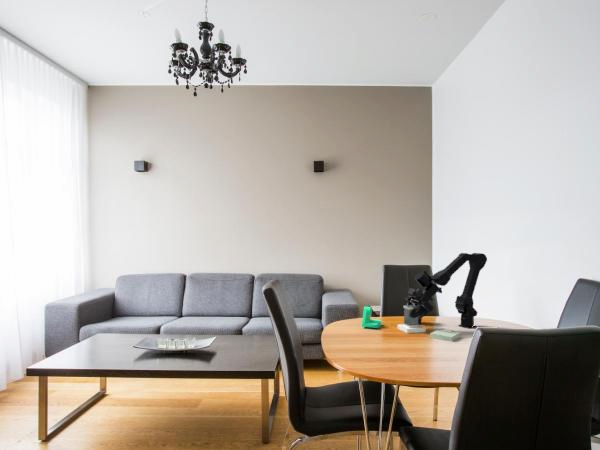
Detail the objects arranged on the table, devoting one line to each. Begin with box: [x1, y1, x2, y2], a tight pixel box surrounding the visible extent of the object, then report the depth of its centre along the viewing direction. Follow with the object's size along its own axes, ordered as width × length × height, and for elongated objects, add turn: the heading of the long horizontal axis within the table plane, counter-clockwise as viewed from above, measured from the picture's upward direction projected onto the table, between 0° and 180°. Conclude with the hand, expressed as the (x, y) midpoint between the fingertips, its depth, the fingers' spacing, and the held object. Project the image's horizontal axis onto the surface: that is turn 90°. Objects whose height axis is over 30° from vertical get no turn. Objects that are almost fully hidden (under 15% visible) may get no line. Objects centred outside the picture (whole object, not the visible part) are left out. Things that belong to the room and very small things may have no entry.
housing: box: [403, 304, 420, 328], centre depth 197 cm, size 6×6×10 cm
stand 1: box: [396, 323, 427, 334], centre depth 197 cm, size 10×10×2 cm
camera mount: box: [361, 306, 382, 329], centre depth 205 cm, size 12×8×10 cm, turn 156°
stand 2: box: [429, 329, 461, 342], centre depth 183 cm, size 10×10×2 cm
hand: (408, 316), depth 197 cm, fingers open, 7 cm apart
